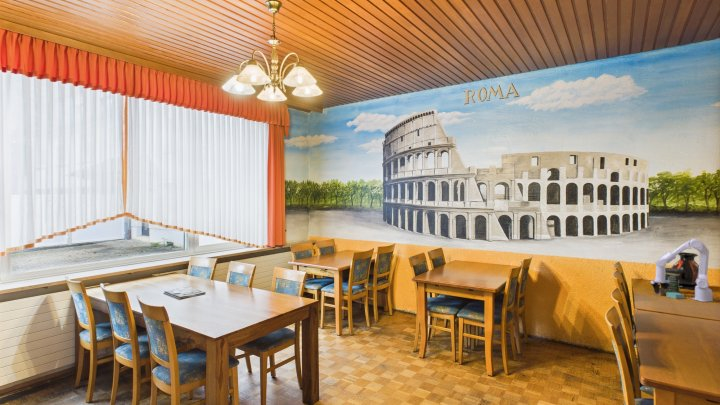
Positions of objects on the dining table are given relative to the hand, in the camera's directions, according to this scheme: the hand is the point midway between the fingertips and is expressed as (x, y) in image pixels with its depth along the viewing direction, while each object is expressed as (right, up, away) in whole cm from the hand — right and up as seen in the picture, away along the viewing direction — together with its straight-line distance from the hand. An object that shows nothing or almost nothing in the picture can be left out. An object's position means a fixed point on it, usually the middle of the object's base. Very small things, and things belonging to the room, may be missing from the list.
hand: (659, 292), depth 283 cm
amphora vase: (+40, -1, +23) cm, 46 cm away
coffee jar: (+16, -2, +9) cm, 18 cm away
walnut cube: (0, -2, 0) cm, 2 cm away
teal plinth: (+5, -2, -7) cm, 9 cm away
